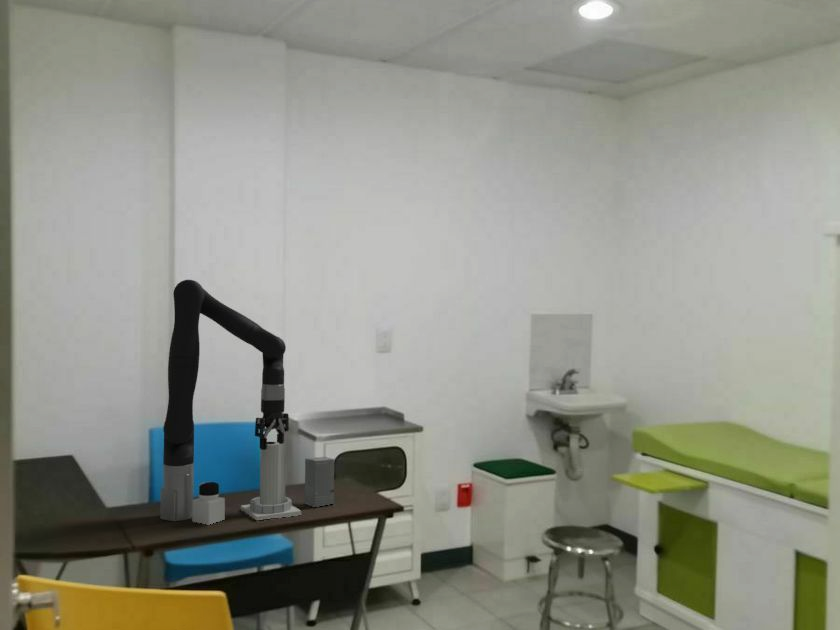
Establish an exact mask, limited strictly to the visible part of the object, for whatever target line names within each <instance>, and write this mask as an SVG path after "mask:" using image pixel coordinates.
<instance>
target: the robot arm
mask: <svg viewBox="0 0 840 630" xmlns="http://www.w3.org/2000/svg"><path fill="white" fill-rule="evenodd" d="M173 306H174V309H173V310H174V323H173V330H172V334H171V338H170V339H171V340H170V346H169V351H168V362H167V363H168V364H167V384H168V386H167V387H168V403H167V409H166V417H165V420H164V424H163V429H162V431H163V456H162V457H163V467H162V468H163V469H162V476H163V477H162V488H160V509H159V510H160V516H159V517H160V518H159V519H161V520H165V521H169V522H170V521H171V522H179V521H186V520H189V519H192V514H193V499H194V473H195V472H194V469H195V468H194V467H195V466H194V465H195V464H194V463H195V462H194V460H195V458H194V457H195V421H194V410H193V409H194V407H193V405H194V395H195V390H196V387H197V381H198V376H199V375H198V374H199V366H200V365H199V364H200V349H201V348H200V346H201V345H200V334H199V333H200V332H199V331H200V330H199V329H200V328H199V327H200V325H199V323H200V316H201V315H203V316H205V317H207V318H208V319H210V320H211V321H213V322H214V323H217V325H219V326H220V327H221V328H223V329H224V330H225V331H227V332H228V333H230V334H231V335H233V336H234V337H236V338H238V339H239V340H241V341H243V342H244V343H246V344H248V345H250V346H252V347H253V348H255V349H256V350H257V351H259V352H260V353H262V365H263V366H262V373H261V375H262V376H261V377H262V378H261V381H262V382H261V389H260V391H261V392H260V394H261V395H260V412H261V413H262V417H256V418H255V423H254V424H255V426H254V436H255V437H257V438H259V449H260V450H261V449H262V450H266V449H267V442H268V435H269V433H271V432H272V430H275V431H276V432H277V433H276V442H278V443H279V444H283V443H285V434H286V432H288V431H289V430H290V429H289V424H290V423H289V417H290V416H289V413H285V399H286V397H285V396H286V395H285V391H286V389H285V369H284V354H285V352H286V343H285V342H284V340H283V339H282V338H280V336H277V335H275V334H274V333H272V332H270V331H268V330H266V329H265V328H263V327H262V326H260V324H258V323H257V322H255V321H253V320H252V319H250V318H249V317H247V316H246V315H244V314H242V313H240V312H238V311H237V310H234V309H233V308H231V307H229V306H228V305H226V304H224V303H223V302H221V301H219V300H218V299H216V298H215V297H214V296H212V295H211V294H210V293H209V292H208V291H207V290H205V289H204V287H203V286H202V285H201V284H200V283H199V282H198V281H196V280H193V279H184V280H181V281H180V282H178V283H176V286H175V287H174V289H173Z"/></svg>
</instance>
